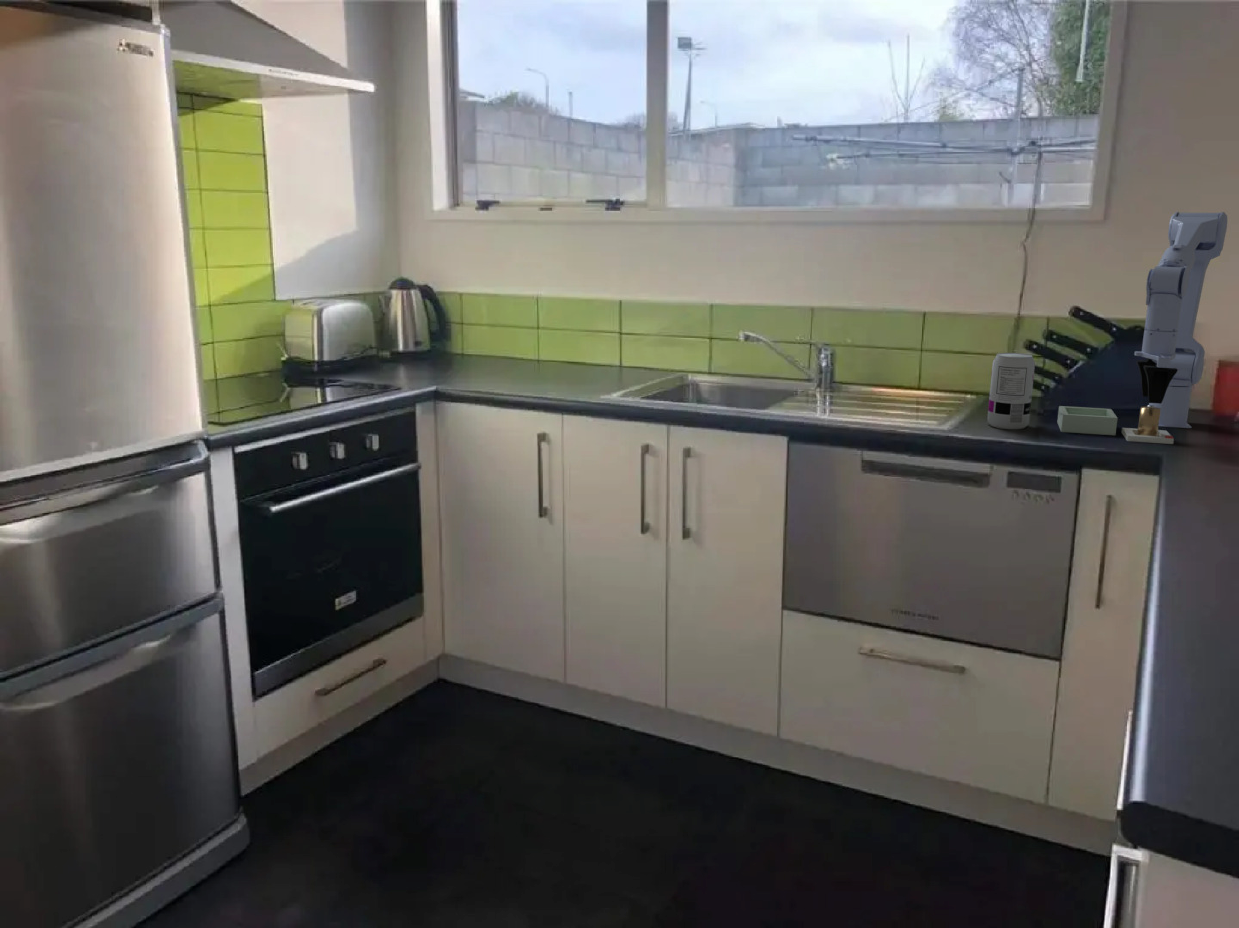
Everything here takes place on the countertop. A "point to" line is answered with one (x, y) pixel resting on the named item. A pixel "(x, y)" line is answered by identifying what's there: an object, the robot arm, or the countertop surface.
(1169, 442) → the white square recessed tray
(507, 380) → the countertop surface
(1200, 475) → the countertop surface
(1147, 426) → the cell
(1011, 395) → the supplement can
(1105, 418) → the grey-green square tray
